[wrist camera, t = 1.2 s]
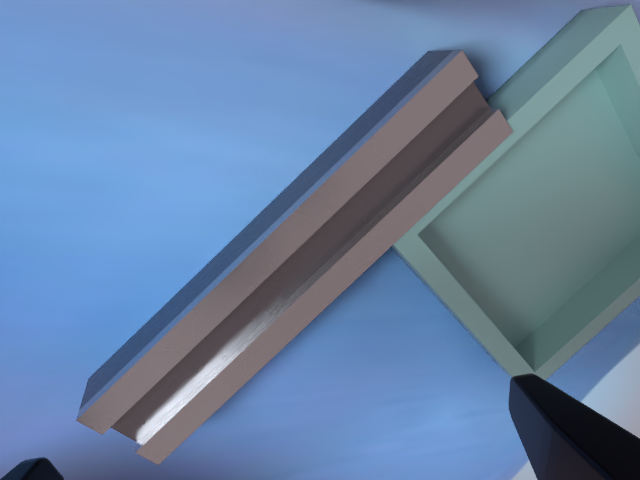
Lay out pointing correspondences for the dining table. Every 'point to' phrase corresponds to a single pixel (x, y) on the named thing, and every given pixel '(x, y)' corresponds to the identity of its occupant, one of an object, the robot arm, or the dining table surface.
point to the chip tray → (547, 204)
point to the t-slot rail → (296, 256)
